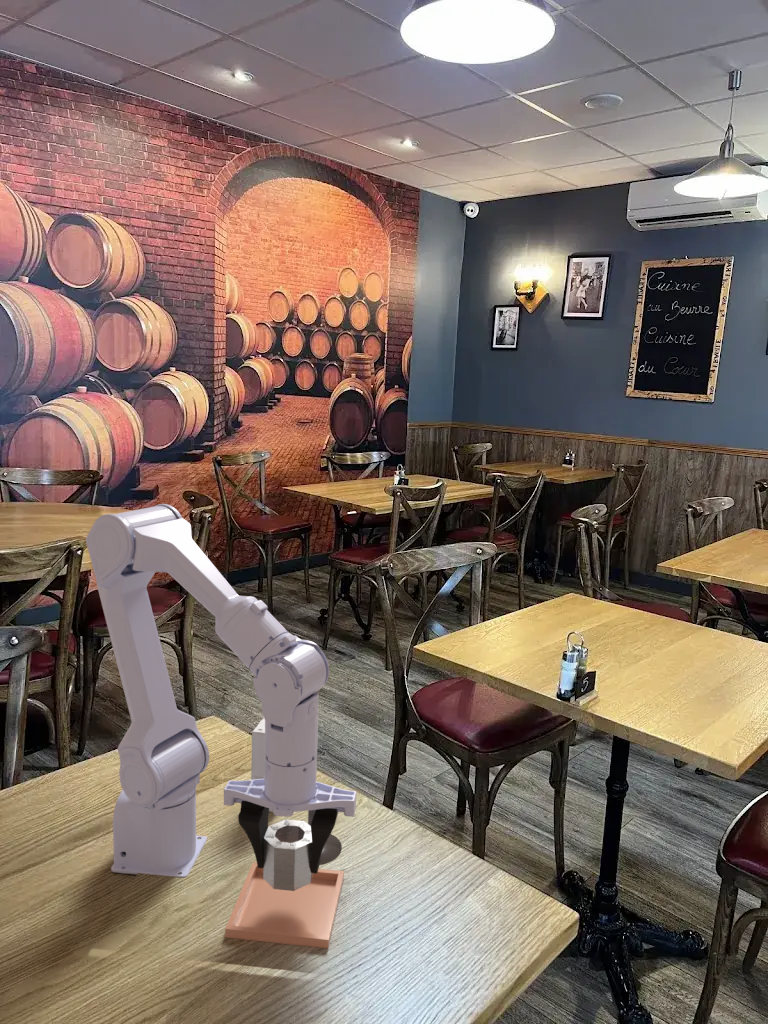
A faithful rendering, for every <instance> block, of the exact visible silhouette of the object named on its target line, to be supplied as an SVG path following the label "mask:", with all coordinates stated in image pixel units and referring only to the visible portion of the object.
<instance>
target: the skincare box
mask: <svg viewBox="0 0 768 1024" xmlns="http://www.w3.org/2000/svg"><path fill="white" fill-rule="evenodd" d="M250 766H251V767H250V768H251V769H250V770H251V771H250V772H251V777H250V780H254V779H264V772H265V717H264V716H263V718H262V719H261V720H260V721H259V722H258V723H257V726H255V728H254V729H253V730H252V732H251V765H250ZM270 812H272V813H273V810H272V809H269V813H270Z"/></svg>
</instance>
